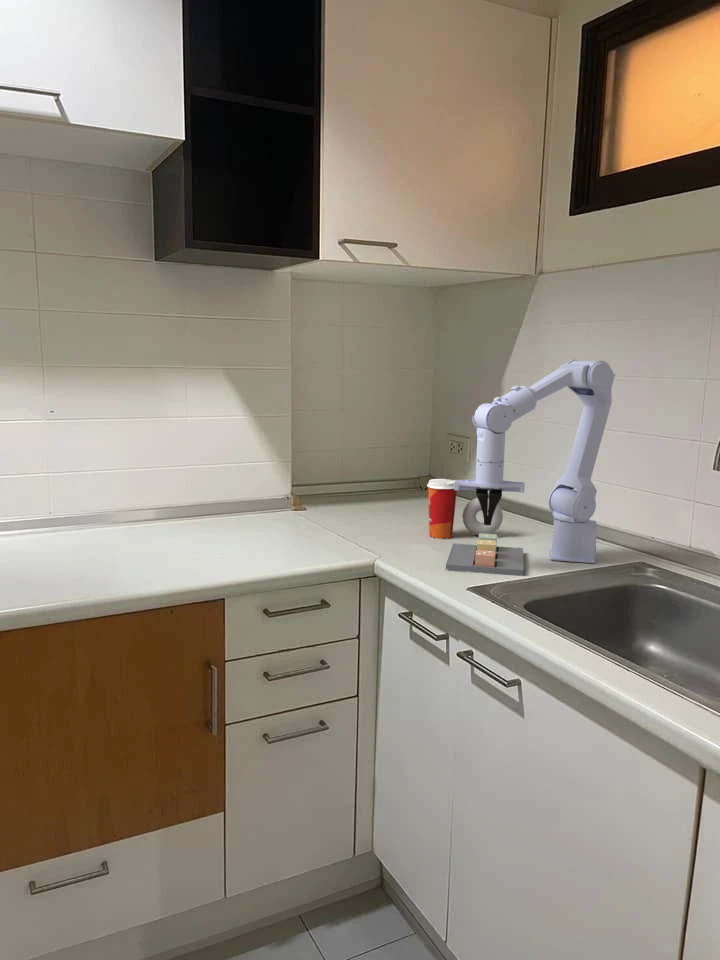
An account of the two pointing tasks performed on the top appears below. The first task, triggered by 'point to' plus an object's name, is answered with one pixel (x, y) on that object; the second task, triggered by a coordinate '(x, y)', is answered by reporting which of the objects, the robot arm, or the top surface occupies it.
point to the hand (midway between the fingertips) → (487, 524)
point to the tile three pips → (485, 558)
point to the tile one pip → (488, 537)
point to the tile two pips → (486, 545)
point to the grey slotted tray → (506, 564)
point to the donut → (476, 526)
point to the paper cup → (441, 507)
